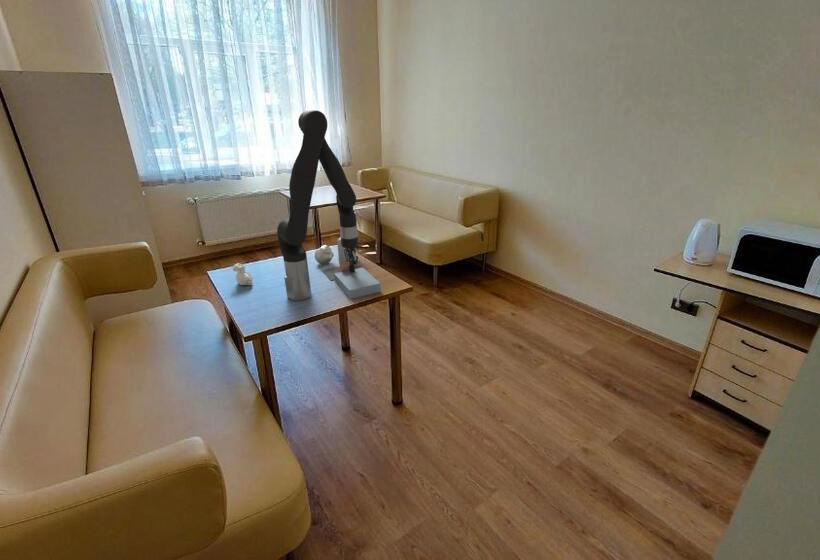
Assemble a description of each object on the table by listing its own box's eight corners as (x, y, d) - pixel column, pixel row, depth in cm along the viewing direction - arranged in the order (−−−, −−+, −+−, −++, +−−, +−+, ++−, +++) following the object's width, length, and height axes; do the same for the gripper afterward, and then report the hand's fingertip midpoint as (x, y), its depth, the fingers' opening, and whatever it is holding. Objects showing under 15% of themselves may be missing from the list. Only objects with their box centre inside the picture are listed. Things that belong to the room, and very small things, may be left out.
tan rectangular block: (355, 264, 188) (353, 259, 189) (343, 267, 185) (341, 261, 186) (351, 273, 196) (349, 268, 197) (339, 276, 193) (337, 271, 194)
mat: (365, 273, 196) (365, 273, 196) (330, 281, 189) (330, 280, 189) (354, 263, 208) (354, 263, 208) (321, 270, 201) (321, 270, 200)
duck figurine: (241, 283, 193) (222, 269, 186) (253, 271, 195) (234, 257, 187) (249, 292, 185) (229, 278, 177) (261, 279, 186) (241, 265, 178)
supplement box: (352, 264, 207) (351, 240, 202) (338, 263, 209) (336, 239, 203) (356, 258, 214) (355, 235, 209) (343, 258, 215) (341, 235, 210)
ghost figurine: (322, 269, 202) (320, 250, 198) (312, 263, 209) (310, 245, 204) (337, 264, 208) (336, 245, 204) (327, 259, 214) (325, 241, 210)
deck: (380, 291, 178) (380, 283, 177) (350, 298, 173) (349, 290, 171) (363, 275, 195) (362, 267, 193) (334, 281, 189) (334, 273, 187)
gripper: (362, 238, 175) (365, 275, 182) (352, 230, 186) (354, 265, 193) (346, 241, 172) (349, 279, 179) (336, 232, 183) (339, 268, 190)
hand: (352, 271), depth 186 cm, fingers closed
